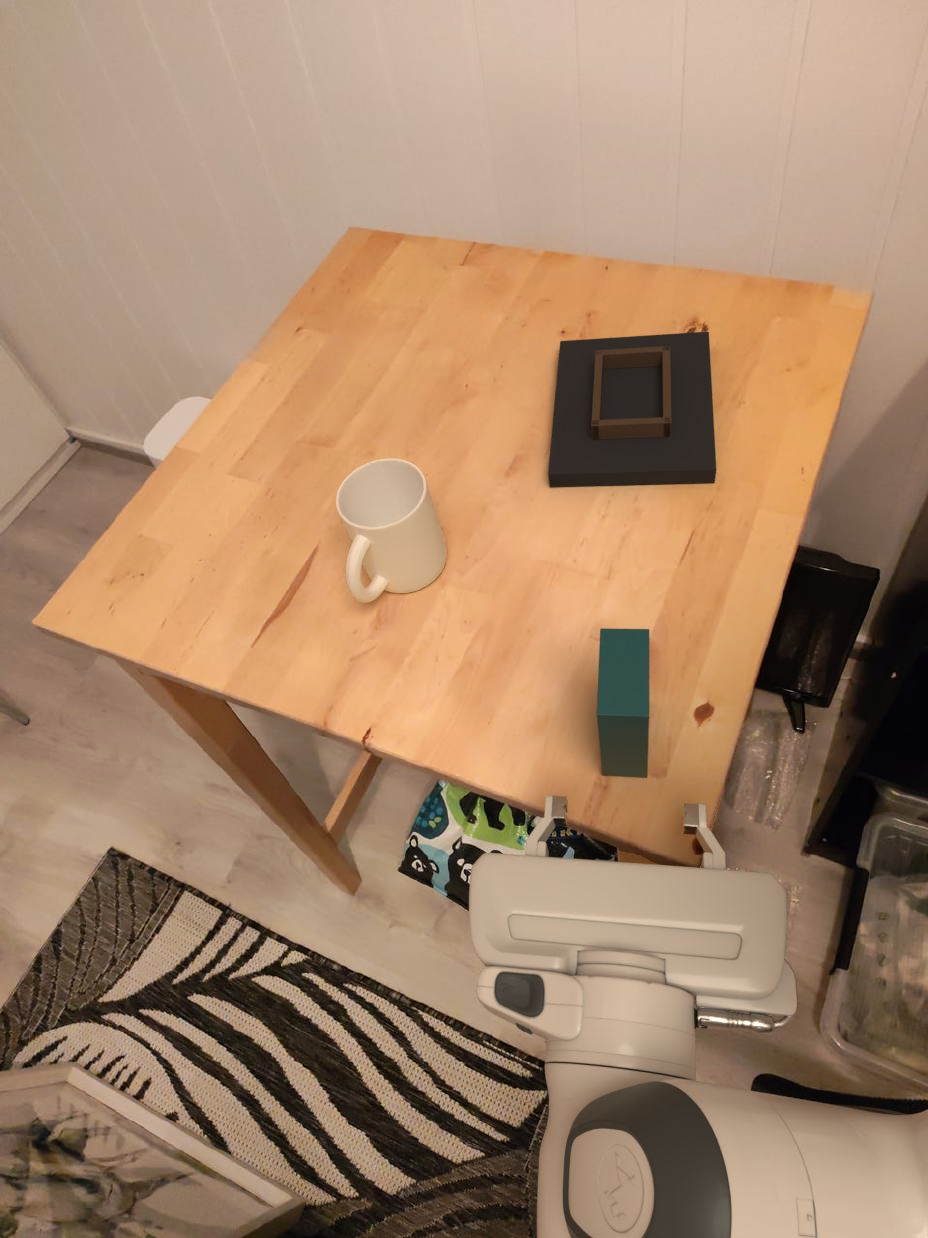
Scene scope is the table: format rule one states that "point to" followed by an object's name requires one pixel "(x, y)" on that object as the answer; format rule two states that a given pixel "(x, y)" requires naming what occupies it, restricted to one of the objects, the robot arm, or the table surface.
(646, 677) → the back pad
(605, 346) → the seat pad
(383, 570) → the mug
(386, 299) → the table surface
